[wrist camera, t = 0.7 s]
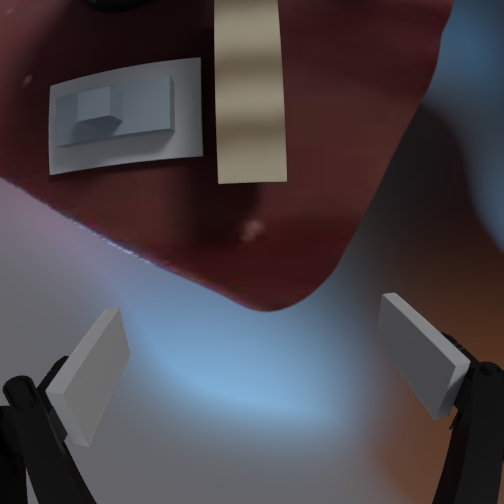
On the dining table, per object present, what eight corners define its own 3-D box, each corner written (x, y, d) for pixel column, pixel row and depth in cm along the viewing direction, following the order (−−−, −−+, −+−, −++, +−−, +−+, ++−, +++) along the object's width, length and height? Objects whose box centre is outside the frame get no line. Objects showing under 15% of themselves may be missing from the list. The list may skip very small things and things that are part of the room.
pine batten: (216, 2, 27) (214, -24, 22) (268, 1, 28) (275, -25, 22) (220, 181, 33) (218, 183, 27) (277, 179, 33) (286, 181, 27)
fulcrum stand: (54, 87, 31) (21, 74, 23) (201, 60, 32) (193, 33, 24) (54, 174, 34) (18, 177, 26) (203, 156, 35) (195, 151, 27)
